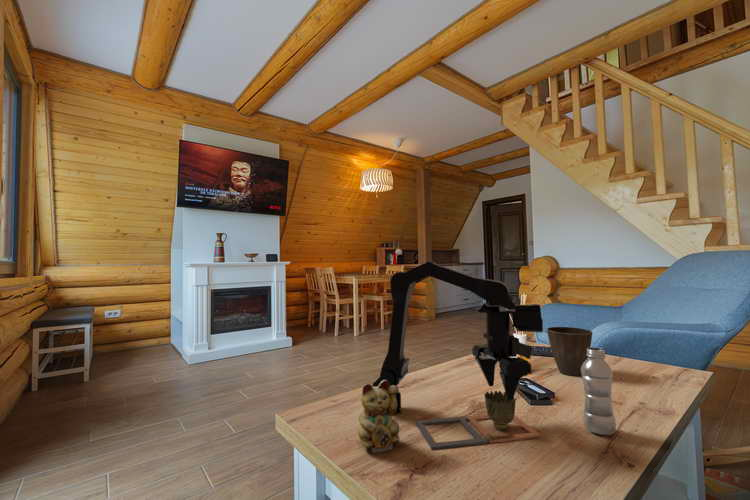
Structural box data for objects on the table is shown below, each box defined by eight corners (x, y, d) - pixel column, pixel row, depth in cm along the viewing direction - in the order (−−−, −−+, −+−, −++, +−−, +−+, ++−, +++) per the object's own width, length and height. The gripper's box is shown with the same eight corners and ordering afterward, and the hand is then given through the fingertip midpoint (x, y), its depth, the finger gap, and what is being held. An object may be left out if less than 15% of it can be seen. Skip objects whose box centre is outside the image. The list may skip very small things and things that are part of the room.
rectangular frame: (431, 449, 76) (431, 446, 76) (415, 423, 88) (415, 420, 88) (540, 437, 80) (540, 435, 80) (510, 414, 93) (510, 411, 93)
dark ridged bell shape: (519, 436, 81) (518, 402, 81) (487, 434, 82) (486, 400, 83) (513, 422, 88) (512, 391, 89) (483, 420, 89) (482, 389, 90)
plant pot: (551, 365, 137) (550, 325, 138) (595, 371, 129) (593, 328, 129) (545, 374, 125) (543, 331, 126) (593, 382, 116) (591, 335, 117)
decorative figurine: (365, 459, 72) (364, 387, 73) (352, 440, 80) (351, 376, 81) (404, 448, 76) (403, 381, 77) (388, 432, 84) (387, 371, 85)
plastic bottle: (617, 442, 78) (613, 353, 79) (583, 434, 81) (579, 350, 82) (615, 430, 83) (611, 347, 84) (583, 423, 87) (579, 344, 88)
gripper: (551, 335, 79) (554, 404, 78) (507, 323, 97) (509, 378, 96) (507, 338, 77) (509, 408, 76) (470, 324, 95) (472, 381, 94)
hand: (500, 392), depth 86 cm, fingers open, 9 cm apart
